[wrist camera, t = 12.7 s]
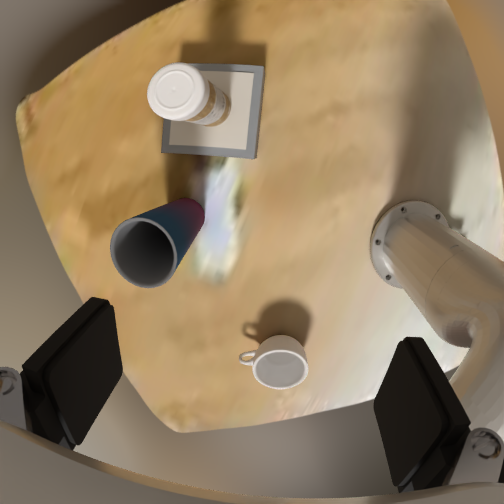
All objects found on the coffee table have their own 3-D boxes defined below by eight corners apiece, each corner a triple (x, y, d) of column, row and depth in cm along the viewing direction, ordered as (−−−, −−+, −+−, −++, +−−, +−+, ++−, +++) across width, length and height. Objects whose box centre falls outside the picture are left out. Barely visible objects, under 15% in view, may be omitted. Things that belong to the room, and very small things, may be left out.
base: (265, 73, 35) (263, 65, 31) (256, 157, 39) (254, 159, 35) (179, 70, 35) (169, 63, 31) (171, 151, 39) (160, 152, 35)
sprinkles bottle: (194, 88, 32) (148, 62, 20) (233, 90, 32) (207, 60, 19) (190, 126, 34) (142, 119, 21) (230, 128, 34) (201, 120, 21)
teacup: (309, 329, 46) (312, 350, 41) (302, 368, 49) (304, 390, 43) (242, 324, 47) (238, 345, 42) (240, 363, 49) (236, 385, 44)
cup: (170, 184, 40) (117, 207, 26) (218, 201, 41) (186, 232, 27) (157, 230, 43) (105, 272, 29) (202, 247, 43) (167, 298, 29)
